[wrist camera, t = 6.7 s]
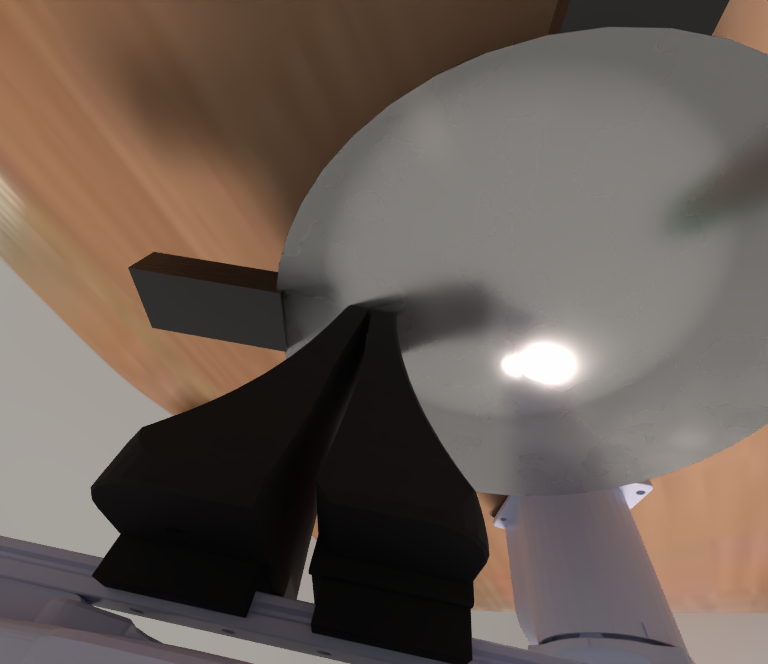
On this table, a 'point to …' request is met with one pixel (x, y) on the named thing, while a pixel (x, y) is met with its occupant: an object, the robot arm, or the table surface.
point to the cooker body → (636, 15)
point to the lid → (539, 257)
